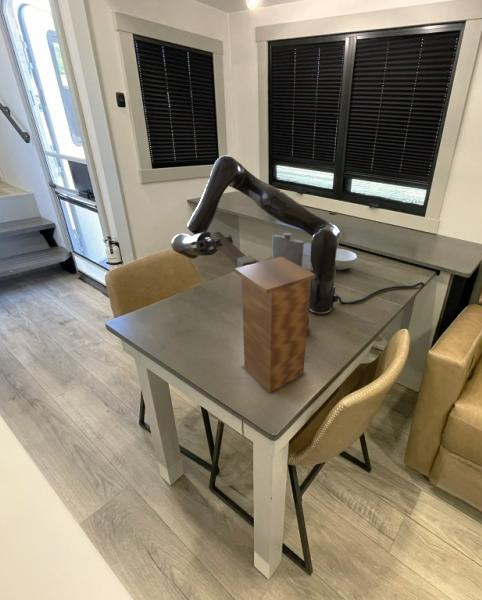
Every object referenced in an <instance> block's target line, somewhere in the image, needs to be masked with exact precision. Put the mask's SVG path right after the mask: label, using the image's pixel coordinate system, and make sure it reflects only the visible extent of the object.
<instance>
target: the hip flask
mask: <svg viewBox="0 0 482 600" xmlns="http://www.w3.org/2000/svg"><path fill="white" fill-rule="evenodd" d="M271 245H272V246H271V247H272V248H271V259H274V258H278V257H283V258H285V259H287V260H289V261H291V262H293V263H295V264H297V265H299V266H300V267H302V268H303V260H304V247H305V246H304V245H305V241H304V240H301V239H295V238H292V233H291V232H283V235H281V234H280V235H279V234H272V244H271Z"/></svg>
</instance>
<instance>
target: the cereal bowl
mask: <svg viewBox="0 0 482 600" xmlns="http://www.w3.org/2000/svg"><path fill="white" fill-rule="evenodd" d="M357 259H358V255H357V254H356V253H355V252H353V251H351V250H349V249H344V248H337V251H336V260H335V262H336V271H343V270H347V269H351V268H352V267H354V266H355V264H356V262H357Z"/></svg>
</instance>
